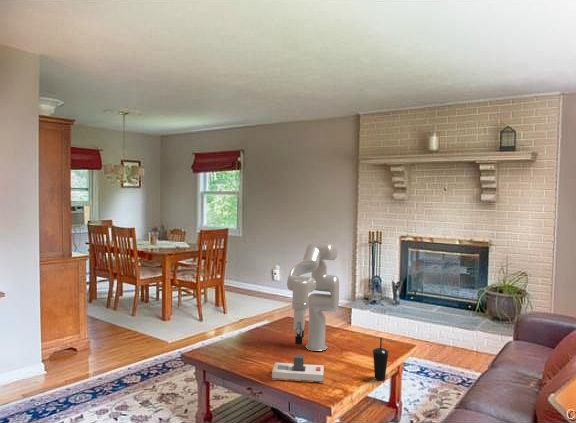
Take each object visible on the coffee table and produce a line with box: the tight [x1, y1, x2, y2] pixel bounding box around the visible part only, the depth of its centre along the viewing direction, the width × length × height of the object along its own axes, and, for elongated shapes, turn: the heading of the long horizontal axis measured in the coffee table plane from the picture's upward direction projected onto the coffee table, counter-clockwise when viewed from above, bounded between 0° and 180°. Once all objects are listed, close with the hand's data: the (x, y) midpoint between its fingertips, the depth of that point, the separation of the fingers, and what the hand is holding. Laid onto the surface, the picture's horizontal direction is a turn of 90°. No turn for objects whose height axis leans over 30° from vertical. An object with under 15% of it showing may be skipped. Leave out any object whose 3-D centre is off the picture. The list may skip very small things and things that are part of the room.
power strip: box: [271, 362, 325, 383], centre depth 218 cm, size 12×24×5 cm, turn 84°
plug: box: [293, 354, 305, 371], centre depth 218 cm, size 4×4×9 cm
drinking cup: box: [372, 336, 390, 382], centre depth 218 cm, size 8×8×20 cm
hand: (299, 340), depth 218 cm, fingers open, 9 cm apart
